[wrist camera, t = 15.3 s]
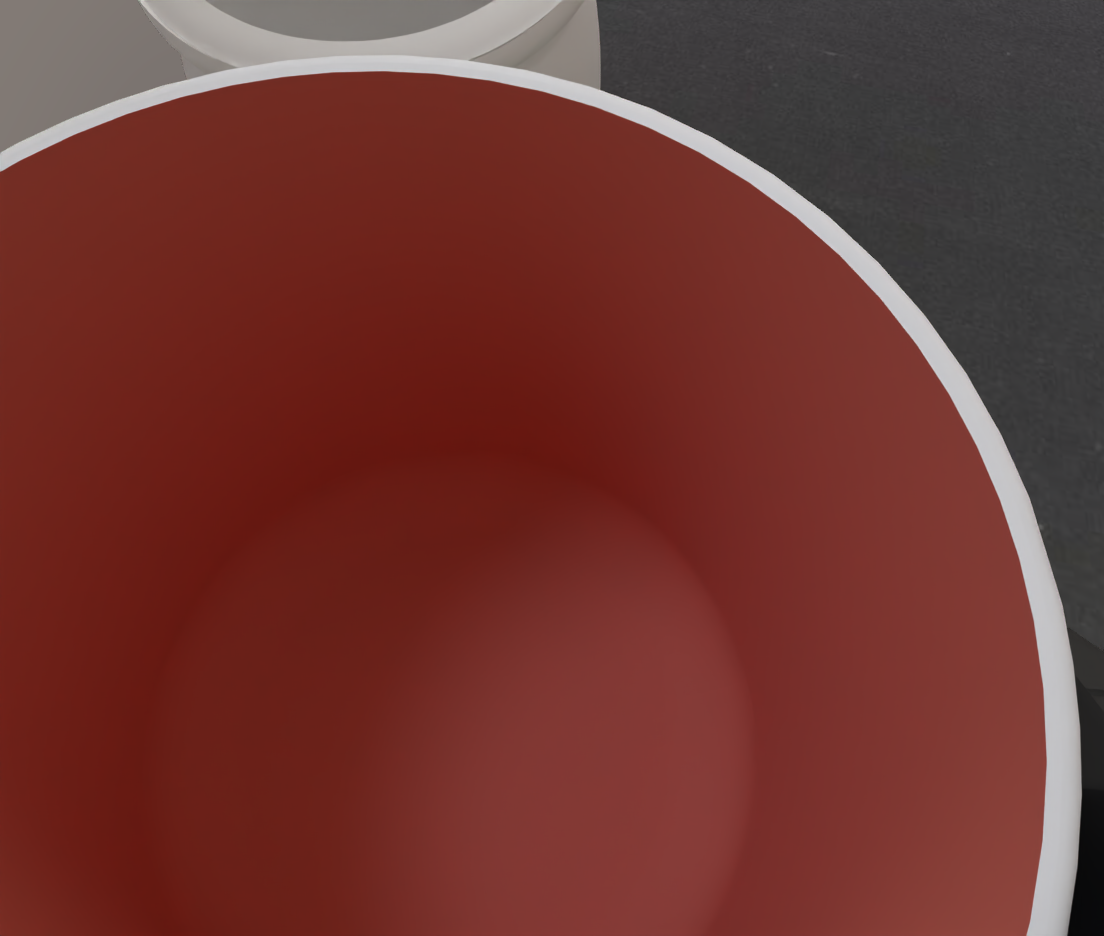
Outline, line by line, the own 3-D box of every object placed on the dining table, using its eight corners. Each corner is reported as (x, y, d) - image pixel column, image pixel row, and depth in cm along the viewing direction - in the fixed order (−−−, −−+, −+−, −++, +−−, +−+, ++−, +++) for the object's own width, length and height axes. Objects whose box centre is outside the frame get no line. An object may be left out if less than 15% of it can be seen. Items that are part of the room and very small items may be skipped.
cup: (827, 1013, 14) (1401, 1403, 5) (167, 1154, 13) (-731, 1947, 4) (680, 428, 18) (836, -22, 8) (154, 513, 17) (-333, 127, 7)
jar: (459, 469, 30) (387, 169, 16) (233, 306, 32) (-2, -84, 18) (641, 254, 33) (713, -154, 19) (424, 118, 35) (348, -338, 21)
